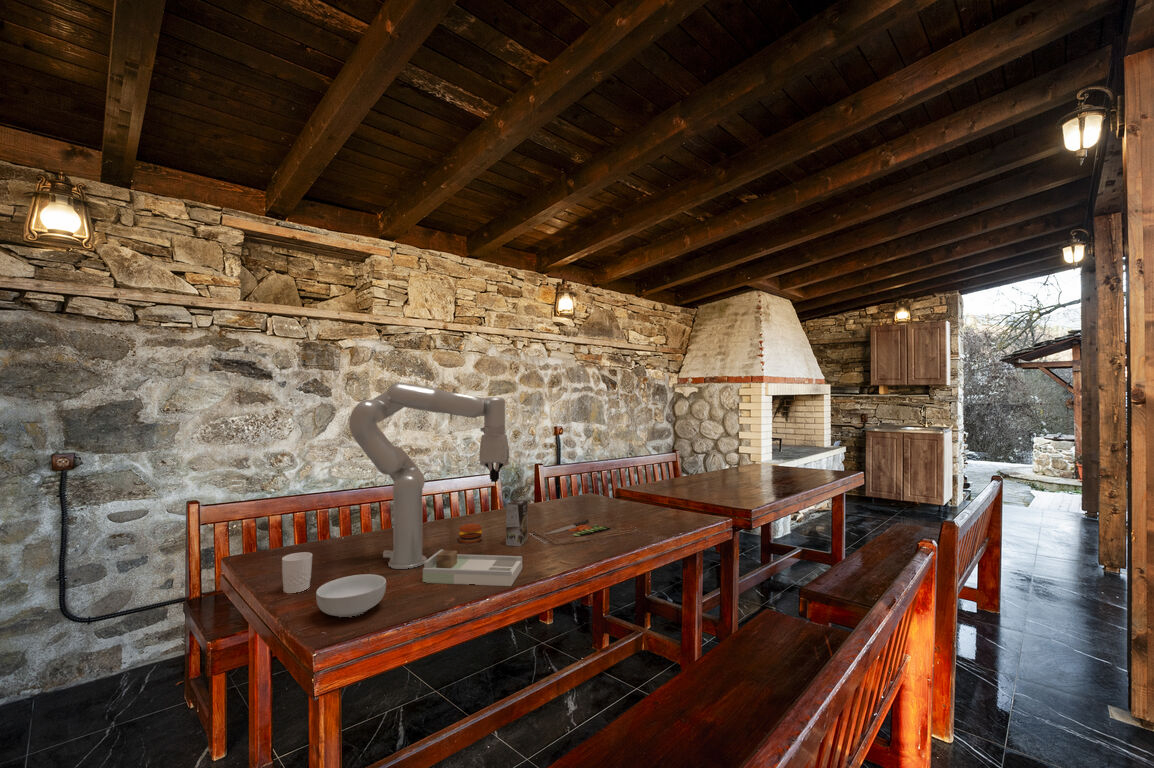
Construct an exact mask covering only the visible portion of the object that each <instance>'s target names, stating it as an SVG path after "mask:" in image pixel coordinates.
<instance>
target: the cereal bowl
mask: <svg viewBox="0 0 1154 768" xmlns="http://www.w3.org/2000/svg"><path fill="white" fill-rule="evenodd" d="M386 589H387V580H386V578H385V577H384V576H382V575H378V574H371V573H369V574H368V573H367V574H355V575H354V574H353V575H348V576H343V577H340V578H337V579H334V580H331V581H328V582H326V583H323V584H322V585H321V586H319V587H318V588H317V589H316V593H315V597H316V598H315V599H316V605H317V607H318V608H319V610H320V611H321V612H323V613H325V614H327V615H329V616H335V617H337V616H338V617H337V618H341V617H349V618H353V617H352V616H355V617H358V616H361V615H363V614H365V613H366V612H368V610H370V609H372V608H374V607H375V606H376V605H378V604H379V603H380V602H381V601H382V599H383V598H384V596H385V593H386ZM364 612H365V613H364ZM360 614H361V615H360ZM357 615H358V616H357Z"/></svg>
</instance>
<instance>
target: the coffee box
mask: <svg viewBox="0 0 1154 768" xmlns="http://www.w3.org/2000/svg"><path fill="white" fill-rule="evenodd" d="M528 502H529V501H528V500H526V499H525V500H523V499H518V500H515V499H513V500H512V501H510V502H508V503H506V505H505V507H506V508H505V546H509V547H510V546H512V547H522V545H524V544H525V543H526V542H527V541H528V535H529V532H528V530H529V529H528V528H529V527H528V520H529V519H528V517H529V516H528V509H529V508H528Z"/></svg>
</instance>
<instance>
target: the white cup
mask: <svg viewBox="0 0 1154 768" xmlns="http://www.w3.org/2000/svg"><path fill="white" fill-rule="evenodd" d="M312 565H313V553H312V552H305V551H304V552H295V553H290V554H287V555H284V556H283V557H282V558H281V573H282V574H281V575H282V584H283V585H282V590H283V591H284V592H286V593H296V592H301V591H304V590H306V589H308V588H309V587H310V588H311V579H312V578H311V577H312V567H313V566H312ZM310 588H309V589H310ZM309 589H308V590H309ZM284 592H283V593H284Z"/></svg>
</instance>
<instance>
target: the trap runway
mask: <svg viewBox="0 0 1154 768" xmlns="http://www.w3.org/2000/svg"><path fill="white" fill-rule="evenodd" d="M442 550H444V549H439V550H438V551H437V552H435V553H434V554H432V555H431V556H430V557H429V558H427V560H426V561H425V562H424V564H423V566H424V567H423V568H422V583H423V582H426V583H425V584H446V585H448V584H449V585H469V584H475V586H478V585H479V586H494V587H495V586H496V587H497V586H498V587H499V586H500V587H512V586H513V584H514V582H515V581H516V580H517V578H518V576H519V575H520V574H521V572H522V570H523V556H522V555H518V556H517V555H493V554H492V555H490V554H487V555H486V554H460V553H459V554H458V553H457V564H456V565H454V566H453V567H452V568H436V555H437V554H438V553H440V552H441V551H442Z"/></svg>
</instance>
